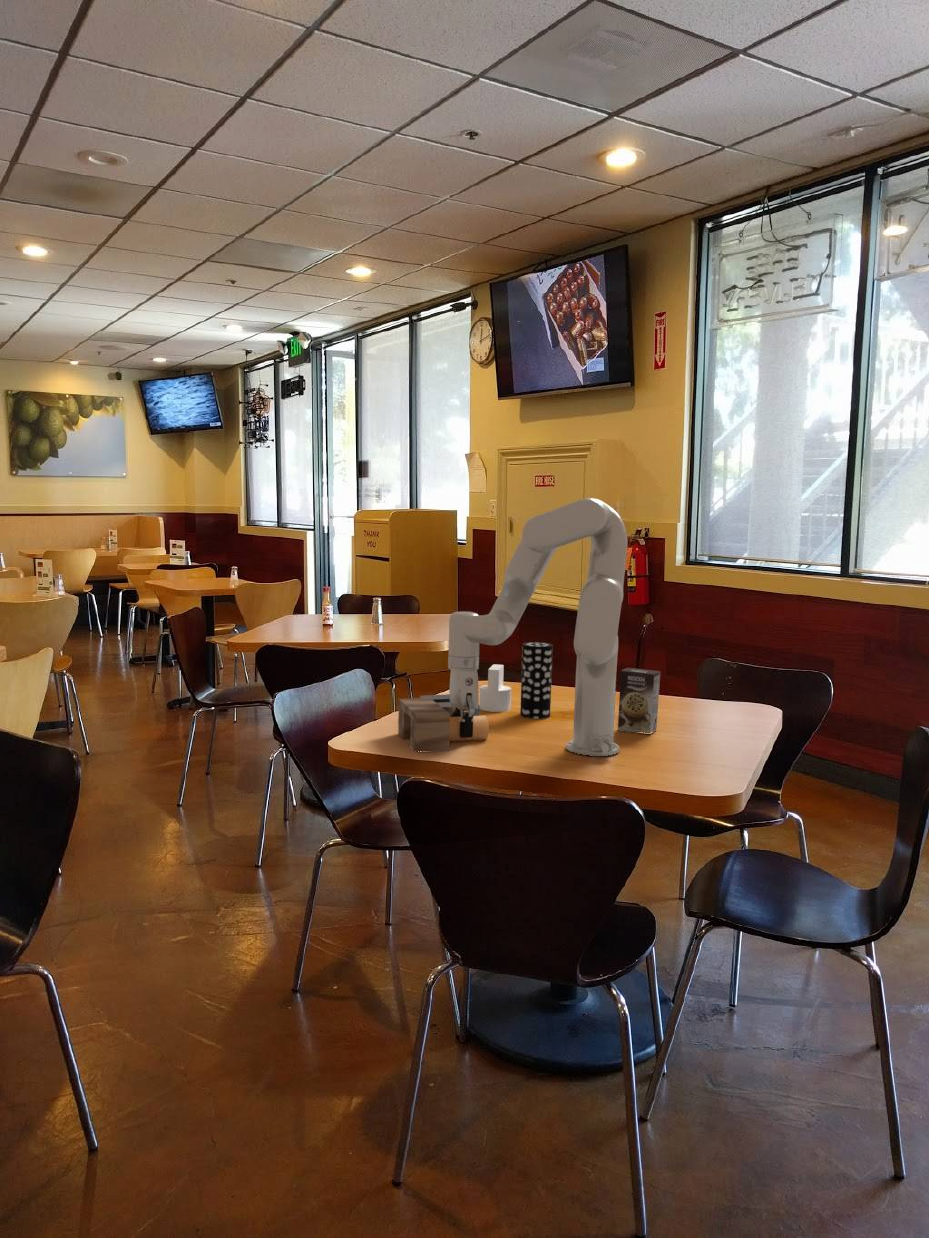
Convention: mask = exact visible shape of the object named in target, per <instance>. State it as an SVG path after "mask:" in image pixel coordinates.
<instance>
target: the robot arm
mask: <svg viewBox="0 0 929 1238" xmlns="http://www.w3.org/2000/svg"><path fill="white" fill-rule="evenodd" d="M521 533H522V537H521V539H520V540H519V542H518V543H519V544H518V545H517V547H516V548H515V550H514V553H513V554H512V557H511V558H510V560H509V562H508V564H507V566H506V569H505V572H504V578H503V579H504V580H503V584H502V587H501V590H500V592H499V595H498V597H497V599H496V601H495V602H494V604H493V606H492V608H491V610H490V611H489V613H488V614H487V613H486V614H483V615H479V614H478V613H476V612H473V611H455V612H452V613H451V614H450V615H449V619H448V657H447V658H448V659H447V660H448V661H447V668H448V669H449V670H450V672H449V673H450V674H449V675H450V676H449V677H450V678H449V696H450V702H451V704H452V711H451V713H452V714H454V715H452V716H451V717H461V721H460V737H461V738H469V737H473V720H474V719H473V716H474V712H475V710H477V709H478V708H479V704H480V691H479V676H478V670H479V669H480V667H479V666H480V644H482V645H488V646H497V645H501V644H503V643H504V641H506V640H507V639H508V638H509V637H511V636H512V635H513V632H515V629H516V628H517V626H518V624H519V622H520V620H521V617H522V616H523V614H524V613H525V610H526V608H527V606H528V604H529V603H530V600H531V598H532V596H533V595H534V593H535V591H536V589H537V588H538V585H539V583H540V581H541V580H542V577H543V575H544V573H545V571H546V569H547V567H548V565H549V564H550V561H551V560H552V559H553V557H554V554H555V553H556V550H557V549H558V548H561V547H563V546H566V545H568V544H571V543H575V542H577V541H579V540H582V539H585V538H588V537H589V539H590V544H591V545H590V553H589V558H588V559H589V561H588V570H587V576H586V582H585V583H584V585H582V586H583V587H582V588H581V590H580V592H579V593H580V594H579V599H578V606H577V616H576V622H575V630H574V636H573V637H574V638H573V649H574V652H575V654H576V665H575V667H576V668H575V684H574V685H575V687H574V707H573V708H574V713H573V732H572V733H573V734H572V735H573V738H572V739H571V740H569V741H567V742H566V750H568V751H569V752H571V753H573V752H574V753H573V754H576V753H577V754H576V755H580V754H582V755H581V756H586V755H589V757H608V755H609V756H614V755H616V753H617V754H618V753H619V752H620V746H619V744H617V743H616V742H614V731H615V730H614V729H615V709H616V708H615V707H616V705H615V704H616V687H617V683H616V682H617V672H618V671H617V667H618V666H617V665H618V656H619V655H618V653H619V652H618V651H619V636H618V633H619V624H620V617H621V611H622V604H623V600H624V584H625V583H624V582H625V573H626V564H627V555H628V554H627V553H628V533H627V529H626V527H625V523H624V521H623V519H622V517H621V516H620V515H619V513H617V512H616V510H615V509H614V508H612V507H611V506H610V505H608V504H607V503H605V501H602V500H600V499H598V498H595V497H586V498H585V497H584V498H582V499H579V500H575V501H573V502H571V503H568V504H565V505H563V506H560V507H557V508H555V509H552V510H550V511H547V512H544V513H540V514H537V515H534V516H532V517H530V518H529V519H528V520H527V521H526V522H525V523H524V525H523V528H522V532H521ZM464 707H468V709H464ZM464 712H467V713H466V714H465V716H464ZM613 754H614V755H613Z"/></svg>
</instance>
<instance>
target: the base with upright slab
mask: <svg viewBox="0 0 929 1238" xmlns="http://www.w3.org/2000/svg"><path fill="white" fill-rule="evenodd" d="M504 667H505V665H504V664H498V663H497V664H492V665H491V666H490V667H489V668H488V670H487V672H488V673H487V675H488V676H487V684H483V685H481V686H480V687H479V705H480V710H481V711H484V712H485V711H486V712H492V713H494V712H495V713H497V712H500V713H501V712H509V711H510V710H511V709H512V708H511V706H512V703H511V702H512V686H511V687H510V686H509V685H504V670H505V669H504Z"/></svg>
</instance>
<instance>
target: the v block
mask: <svg viewBox="0 0 929 1238" xmlns="http://www.w3.org/2000/svg"><path fill="white" fill-rule="evenodd" d="M419 698H431V699H432V700H433V701H435V702H436V703H437V704H438V705H440V706H441V707H442V708H443V709H445V710H446V711H447V712H449V713H450V717H451V716H452V715H454V714H452V713H451V711H452V704H451V702H450V696H449V694H426V695H423V694H422V695H420V696H419ZM464 709H468V707H464ZM480 710H481V709H480V705H479V708H478V709H477V710H475V712H474V716H480ZM466 713H467V712H464V716H465V714H466Z"/></svg>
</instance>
